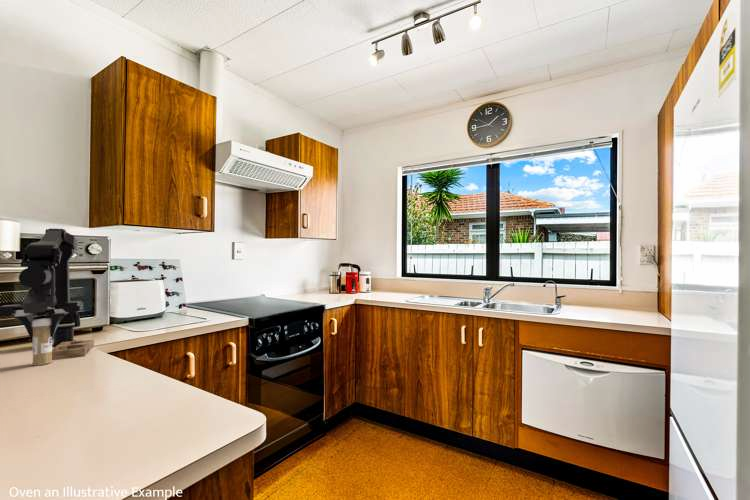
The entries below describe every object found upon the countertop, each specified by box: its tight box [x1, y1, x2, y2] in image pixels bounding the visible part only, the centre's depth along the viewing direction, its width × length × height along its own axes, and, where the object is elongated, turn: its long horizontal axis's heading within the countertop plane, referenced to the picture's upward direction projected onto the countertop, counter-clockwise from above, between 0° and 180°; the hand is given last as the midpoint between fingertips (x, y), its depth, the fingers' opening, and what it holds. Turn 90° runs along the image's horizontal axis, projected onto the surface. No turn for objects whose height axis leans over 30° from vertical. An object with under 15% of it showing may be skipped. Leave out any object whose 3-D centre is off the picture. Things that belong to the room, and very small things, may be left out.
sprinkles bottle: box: [32, 317, 53, 366], centre depth 109 cm, size 5×5×14 cm
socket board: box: [52, 338, 95, 361], centre depth 122 cm, size 9×16×2 cm, turn 29°
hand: (42, 337), depth 109 cm, fingers closed on sprinkles bottle, 4 cm apart
